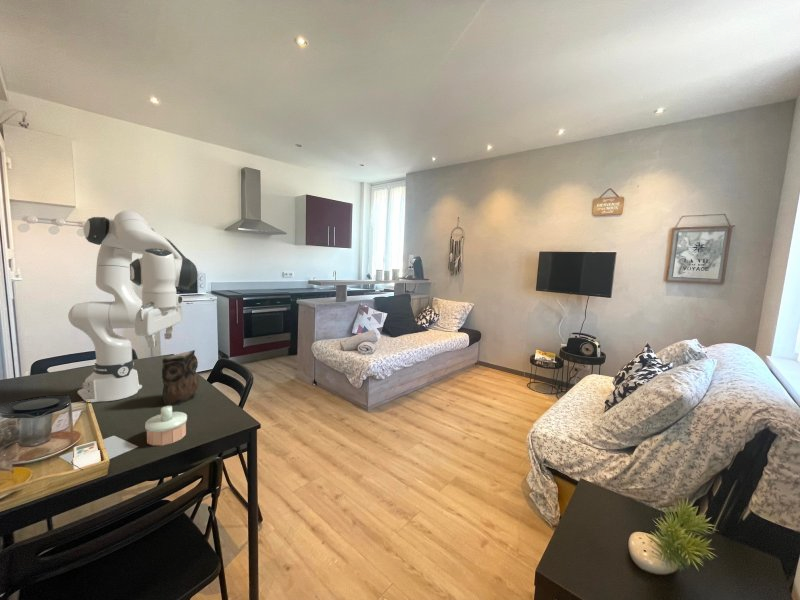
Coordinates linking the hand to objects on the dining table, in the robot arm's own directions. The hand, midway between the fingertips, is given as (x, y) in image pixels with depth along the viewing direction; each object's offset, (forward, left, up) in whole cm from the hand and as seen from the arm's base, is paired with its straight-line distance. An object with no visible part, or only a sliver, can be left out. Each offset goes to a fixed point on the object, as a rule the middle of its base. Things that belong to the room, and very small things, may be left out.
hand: (160, 342), depth 104 cm
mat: (-4, -15, -31) cm, 35 cm away
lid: (+4, -1, -26) cm, 26 cm away
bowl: (+4, -1, -31) cm, 31 cm away
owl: (-22, +19, -31) cm, 43 cm away
